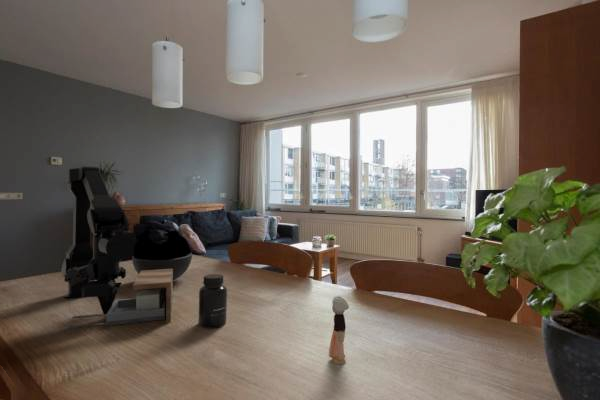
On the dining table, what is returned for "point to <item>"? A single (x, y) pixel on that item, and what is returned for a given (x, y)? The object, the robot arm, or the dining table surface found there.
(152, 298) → the small box
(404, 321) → the dining table surface
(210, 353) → the dining table surface
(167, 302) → the shelf
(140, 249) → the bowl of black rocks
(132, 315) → the tray
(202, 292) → the supplement bottle
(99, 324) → the rails
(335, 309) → the grandmother figurine
